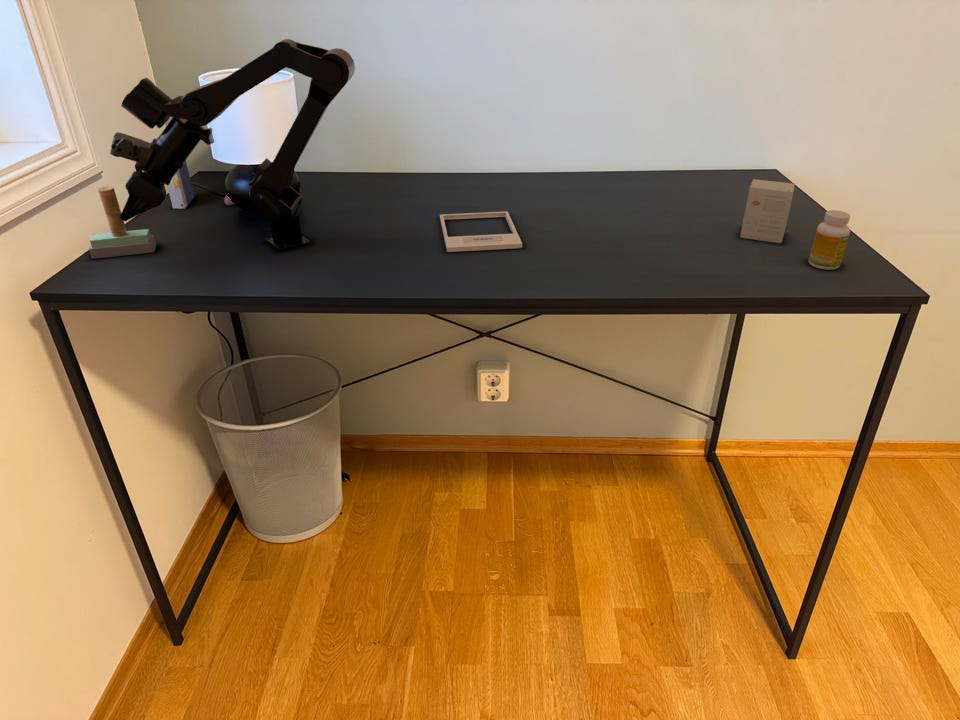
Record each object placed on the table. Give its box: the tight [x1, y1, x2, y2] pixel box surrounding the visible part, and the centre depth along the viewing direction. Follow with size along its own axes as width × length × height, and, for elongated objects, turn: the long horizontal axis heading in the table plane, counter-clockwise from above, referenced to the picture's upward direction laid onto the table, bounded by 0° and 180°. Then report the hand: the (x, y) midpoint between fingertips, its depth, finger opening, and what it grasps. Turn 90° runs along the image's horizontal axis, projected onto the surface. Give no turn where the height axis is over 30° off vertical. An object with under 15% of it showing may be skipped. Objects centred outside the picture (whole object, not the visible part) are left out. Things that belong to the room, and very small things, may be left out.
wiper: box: [88, 185, 157, 260], centre depth 129 cm, size 11×4×12 cm, turn 106°
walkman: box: [166, 159, 195, 210], centre depth 153 cm, size 8×3×12 cm, turn 4°
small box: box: [739, 178, 796, 244], centre depth 135 cm, size 8×6×10 cm
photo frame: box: [439, 210, 523, 253], centre depth 139 cm, size 15×1×18 cm
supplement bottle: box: [808, 209, 851, 271], centre depth 124 cm, size 5×5×10 cm
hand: (125, 211), depth 129 cm, fingers open, 9 cm apart
